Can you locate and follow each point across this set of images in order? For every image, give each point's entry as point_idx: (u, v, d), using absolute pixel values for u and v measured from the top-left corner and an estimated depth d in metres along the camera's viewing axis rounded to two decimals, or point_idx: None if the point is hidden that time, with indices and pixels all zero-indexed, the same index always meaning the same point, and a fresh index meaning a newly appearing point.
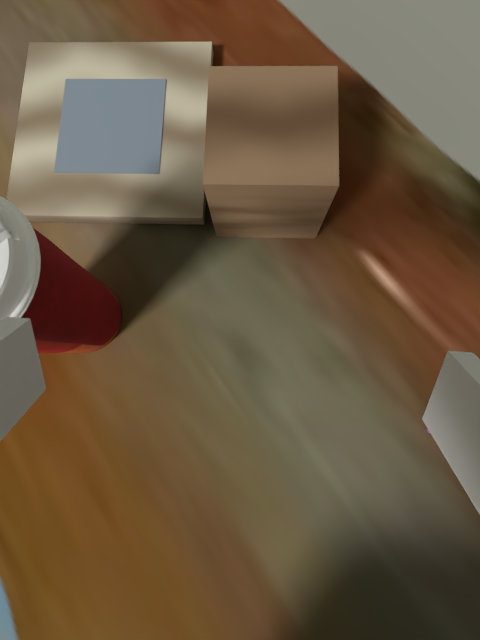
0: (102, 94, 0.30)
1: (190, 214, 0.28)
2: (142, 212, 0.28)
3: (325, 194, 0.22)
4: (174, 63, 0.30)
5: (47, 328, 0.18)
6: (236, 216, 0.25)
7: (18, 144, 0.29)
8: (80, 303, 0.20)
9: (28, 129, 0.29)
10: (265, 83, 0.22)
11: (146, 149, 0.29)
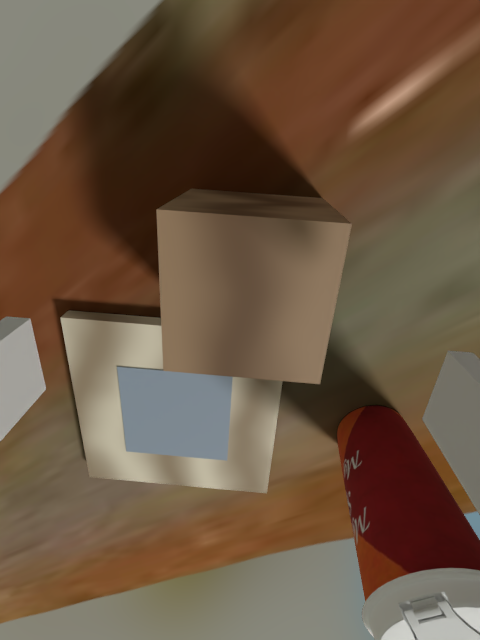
0: (140, 423, 0.28)
1: None
2: (275, 391, 0.26)
3: None
4: (95, 357, 0.26)
5: (468, 525, 0.19)
6: None
7: (197, 484, 0.31)
8: (425, 484, 0.21)
9: (181, 477, 0.31)
10: (186, 309, 0.16)
11: (204, 386, 0.26)
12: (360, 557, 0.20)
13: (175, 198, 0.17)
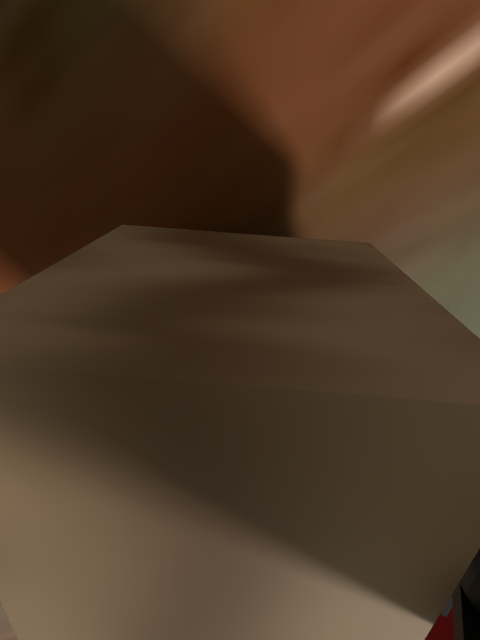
0: None
1: None
2: None
3: None
4: None
5: None
6: None
7: None
8: None
9: None
10: (55, 576, 0.06)
11: None
12: None
13: (46, 269, 0.07)
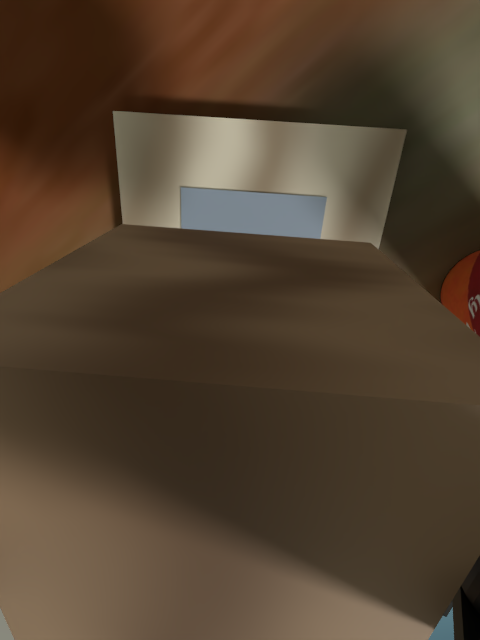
0: None
1: (396, 149, 0.19)
2: (378, 220, 0.21)
3: None
4: (153, 174, 0.21)
5: None
6: None
7: None
8: None
9: None
10: (53, 579, 0.06)
11: (289, 214, 0.21)
12: None
13: (44, 268, 0.07)
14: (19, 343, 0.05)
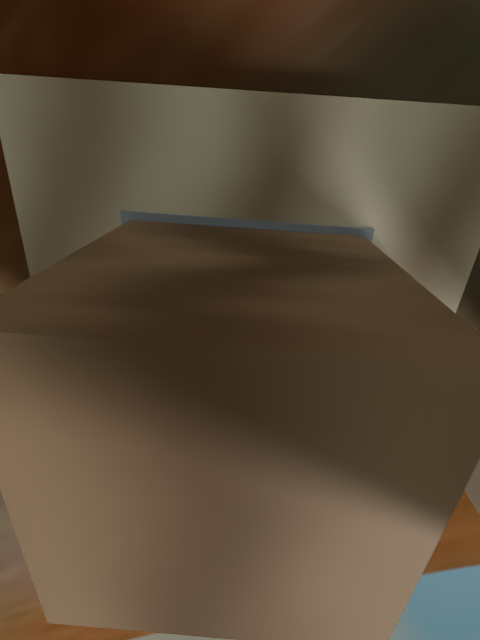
0: None
1: None
2: (461, 267, 0.12)
3: None
4: (72, 188, 0.12)
5: None
6: None
7: None
8: None
9: None
10: (76, 534, 0.07)
11: None
12: None
13: (64, 258, 0.08)
14: (51, 317, 0.05)
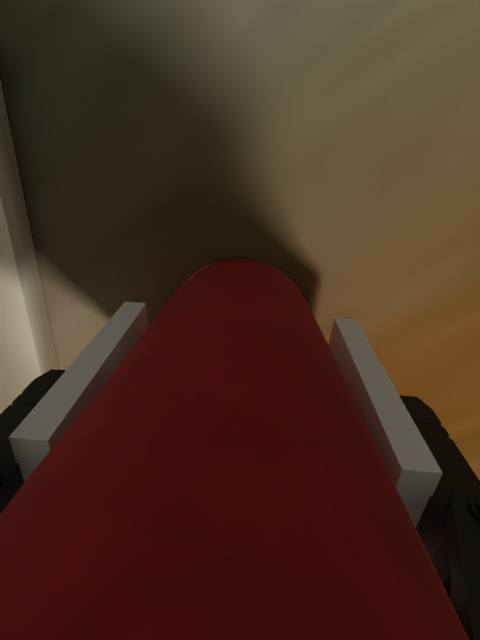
0: None
1: None
2: None
3: None
4: None
5: (379, 491, 0.05)
6: None
7: None
8: (250, 360, 0.06)
9: None
10: None
11: None
12: None
13: None
14: None
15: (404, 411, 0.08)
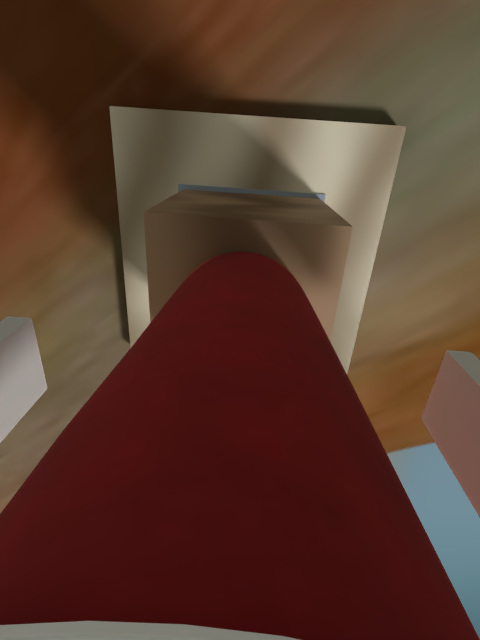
0: None
1: (396, 146, 0.19)
2: (377, 217, 0.21)
3: None
4: (150, 170, 0.20)
5: (363, 435, 0.05)
6: None
7: None
8: (254, 332, 0.07)
9: None
10: None
11: None
12: None
13: (165, 200, 0.17)
14: (178, 212, 0.14)
15: None
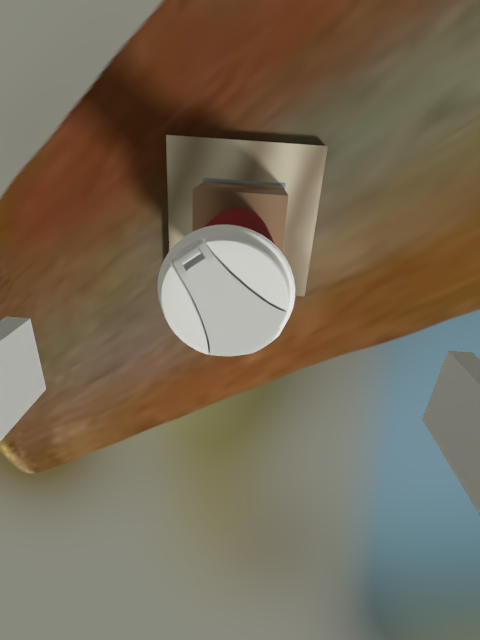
0: None
1: (322, 156, 0.35)
2: (316, 197, 0.37)
3: None
4: (187, 170, 0.36)
5: (266, 237, 0.21)
6: None
7: None
8: (240, 219, 0.23)
9: None
10: None
11: None
12: None
13: (199, 185, 0.32)
14: (208, 189, 0.30)
15: None
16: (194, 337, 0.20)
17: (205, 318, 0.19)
